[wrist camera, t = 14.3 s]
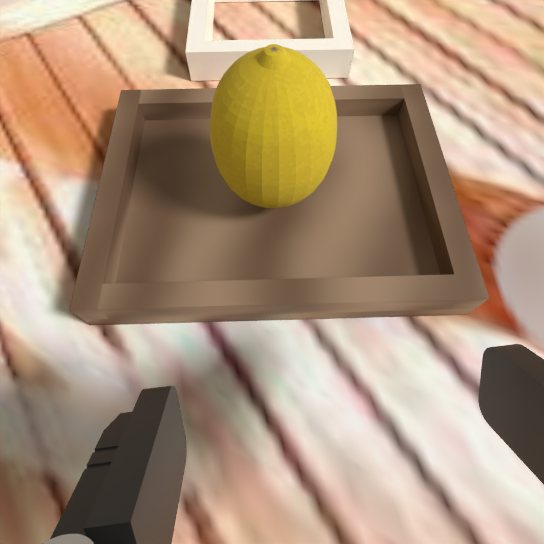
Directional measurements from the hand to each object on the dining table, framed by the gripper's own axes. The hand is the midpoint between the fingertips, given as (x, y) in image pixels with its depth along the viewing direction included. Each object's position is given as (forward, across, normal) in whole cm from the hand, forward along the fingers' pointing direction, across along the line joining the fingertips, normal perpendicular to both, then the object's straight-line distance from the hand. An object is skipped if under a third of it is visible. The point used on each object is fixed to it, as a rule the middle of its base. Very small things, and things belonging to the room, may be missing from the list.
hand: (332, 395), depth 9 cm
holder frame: (+24, -1, -15) cm, 28 cm away
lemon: (+12, 0, -4) cm, 13 cm away
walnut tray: (+13, 0, -3) cm, 13 cm away
